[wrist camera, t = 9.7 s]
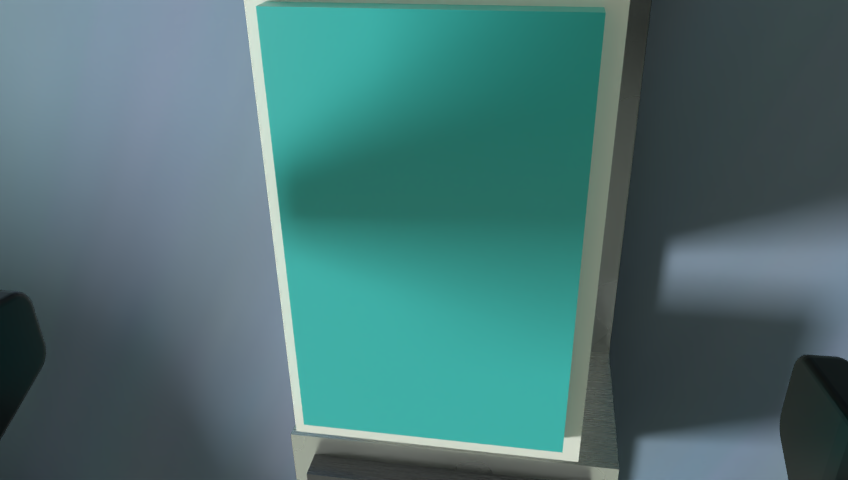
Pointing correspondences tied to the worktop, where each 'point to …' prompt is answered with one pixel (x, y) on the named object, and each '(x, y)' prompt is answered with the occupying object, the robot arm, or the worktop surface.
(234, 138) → the worktop surface
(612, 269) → the rail
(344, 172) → the loose module
